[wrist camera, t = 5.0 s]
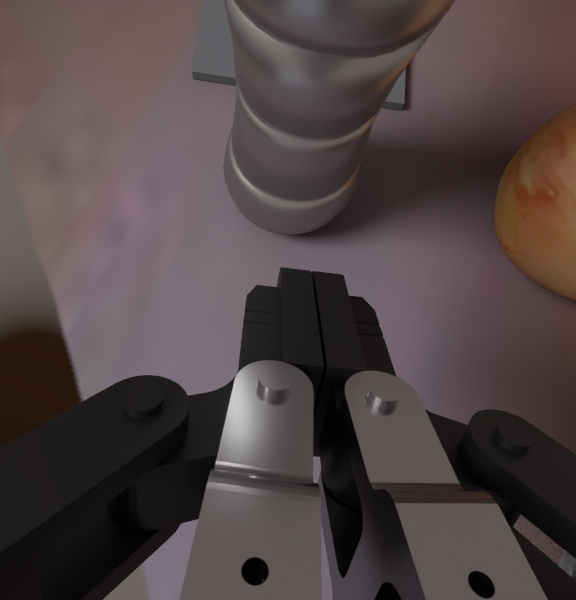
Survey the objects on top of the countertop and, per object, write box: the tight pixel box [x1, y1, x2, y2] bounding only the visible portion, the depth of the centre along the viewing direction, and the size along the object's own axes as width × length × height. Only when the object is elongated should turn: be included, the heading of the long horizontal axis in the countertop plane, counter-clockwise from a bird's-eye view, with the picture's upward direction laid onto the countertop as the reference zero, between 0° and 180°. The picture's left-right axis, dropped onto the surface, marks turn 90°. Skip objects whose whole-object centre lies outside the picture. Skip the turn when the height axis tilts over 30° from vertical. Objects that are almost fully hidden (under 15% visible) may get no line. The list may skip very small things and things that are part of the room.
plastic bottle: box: [223, 0, 455, 235], centre depth 16 cm, size 6×7×20 cm
